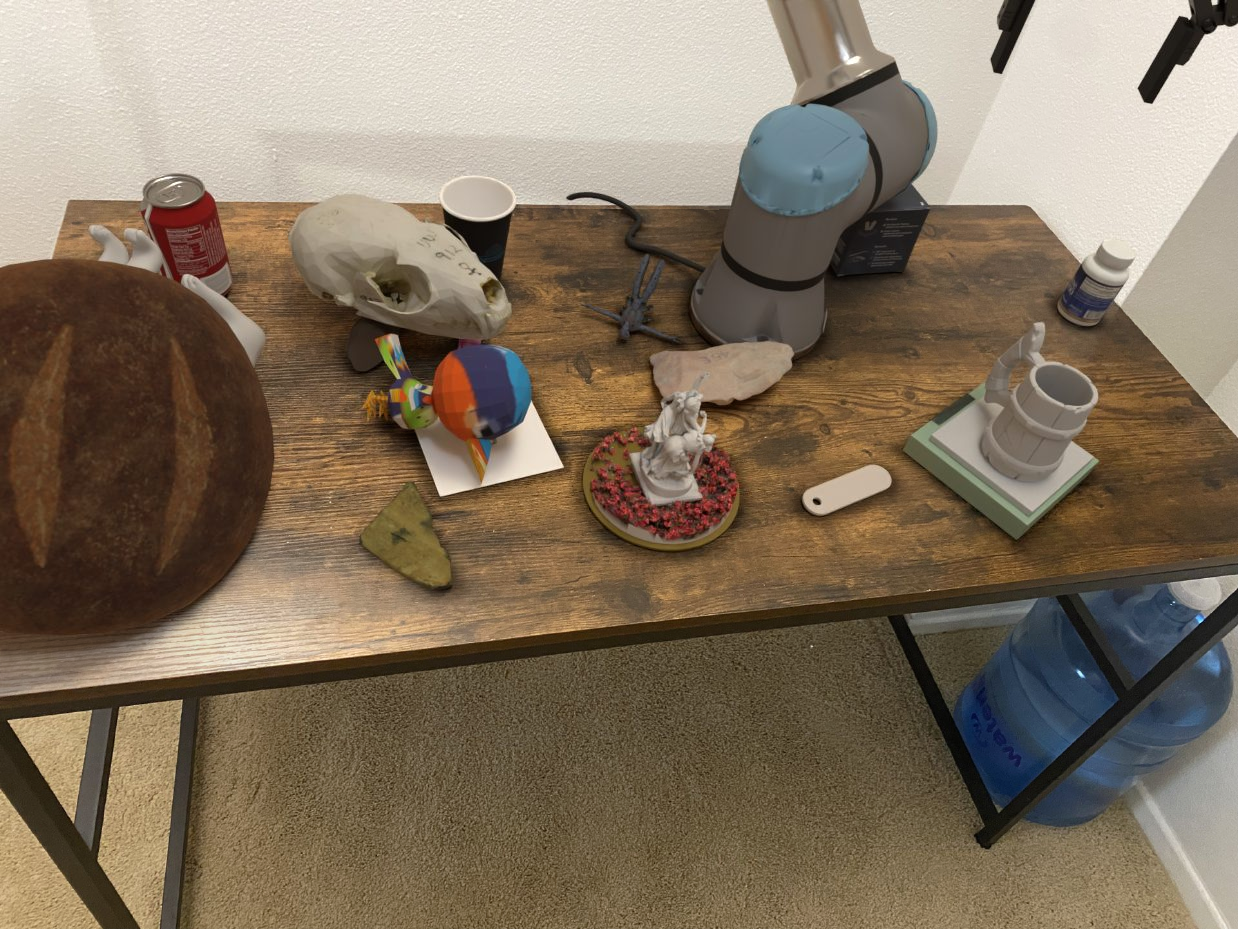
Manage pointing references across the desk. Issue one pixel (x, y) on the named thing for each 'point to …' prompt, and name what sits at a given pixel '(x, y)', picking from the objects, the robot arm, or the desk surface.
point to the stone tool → (723, 370)
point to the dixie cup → (480, 216)
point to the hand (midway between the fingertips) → (1070, 81)
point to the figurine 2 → (637, 303)
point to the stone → (409, 541)
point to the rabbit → (152, 259)
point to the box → (882, 236)
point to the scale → (990, 466)
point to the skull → (397, 268)
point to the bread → (120, 447)
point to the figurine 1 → (368, 340)
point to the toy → (458, 395)
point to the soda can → (186, 230)
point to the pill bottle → (1097, 283)
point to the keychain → (846, 489)
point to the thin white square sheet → (508, 459)
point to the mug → (1034, 410)
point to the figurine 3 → (664, 480)
